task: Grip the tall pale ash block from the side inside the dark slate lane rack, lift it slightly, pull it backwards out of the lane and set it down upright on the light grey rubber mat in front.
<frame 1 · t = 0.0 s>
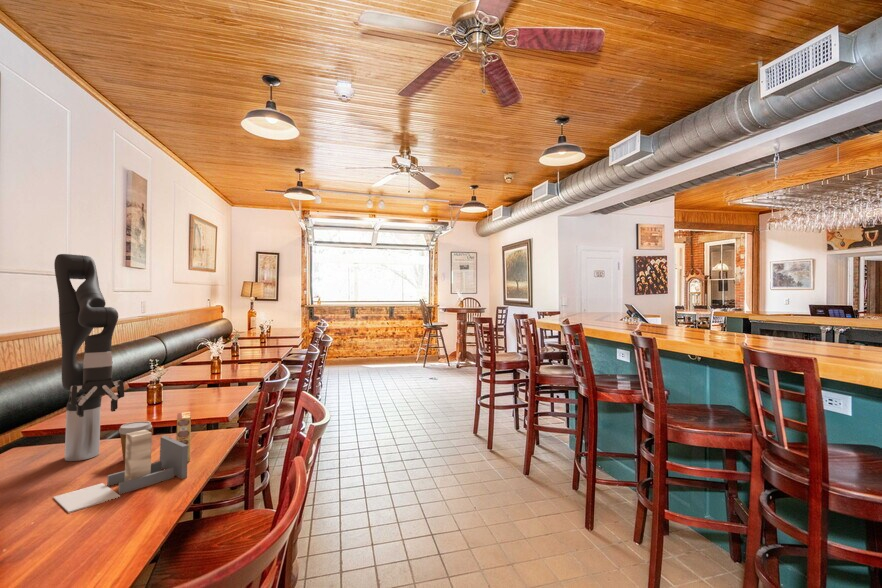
hand: (97, 413, 137), 17 cm above the table, tool pointing down, fingers open, 8 cm apart
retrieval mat: (86, 497, 114), on the table
candy box: (182, 459, 143), on the table
ash block: (137, 482, 124), resting in lane rack
lane rack: (141, 481, 125), on the table
disposable coffee cup: (134, 459, 143), on the table
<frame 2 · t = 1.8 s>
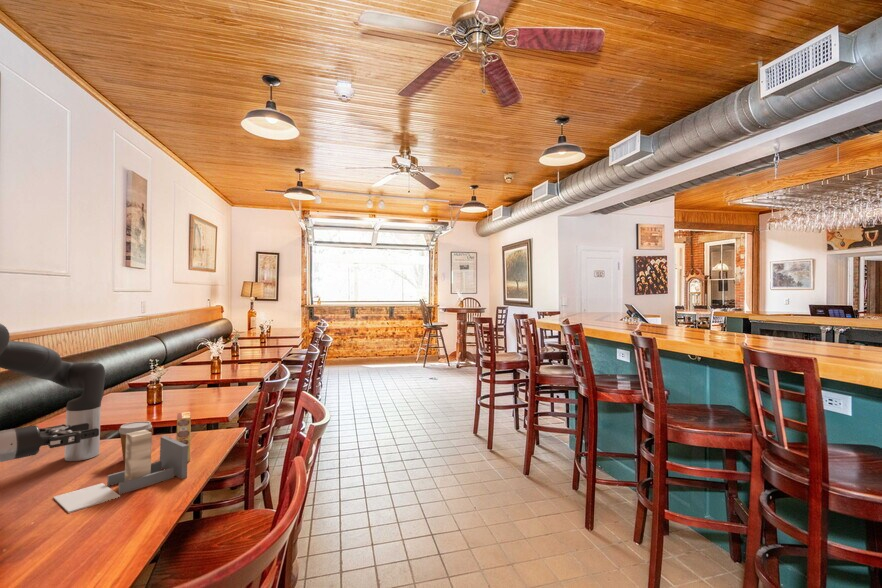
hand: (93, 429, 115), 19 cm above the table, tool horizontal, fingers open, 8 cm apart
nothing on the table moved.
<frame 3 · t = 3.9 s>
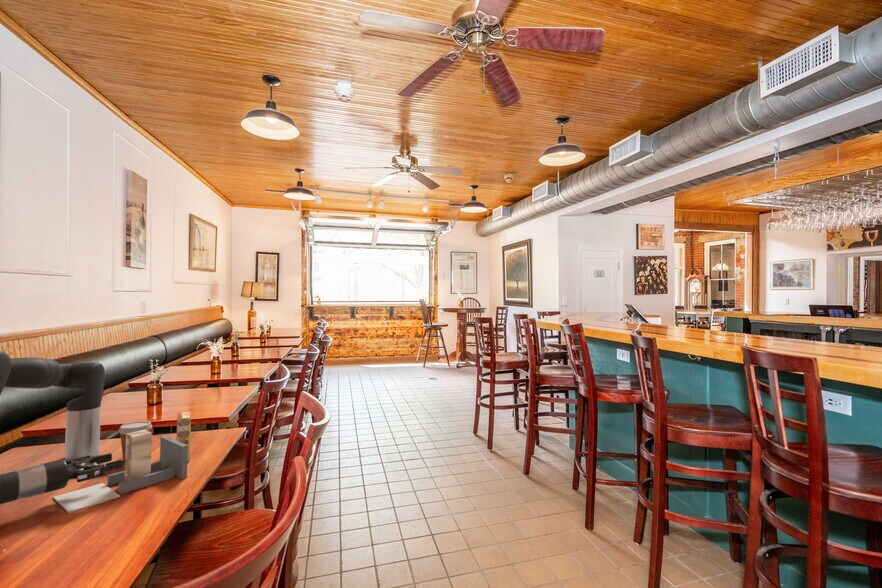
hand: (116, 460, 120), 8 cm above the table, tool horizontal, fingers open, 8 cm apart
nothing on the table moved.
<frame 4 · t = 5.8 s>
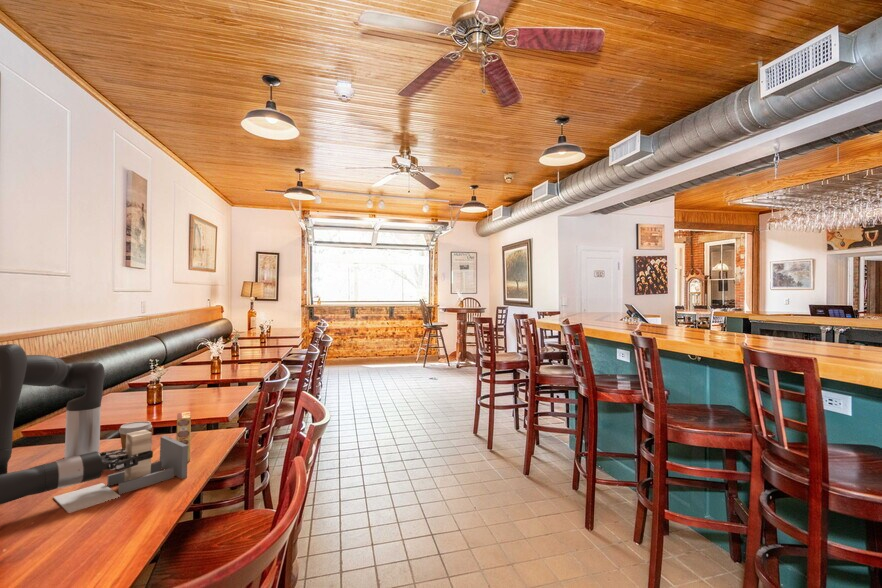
hand: (148, 451, 126), 9 cm above the table, tool horizontal, fingers closed on ash block, 5 cm apart
ash block: (137, 482, 124), resting in lane rack, touching gripper
everything else where it was.
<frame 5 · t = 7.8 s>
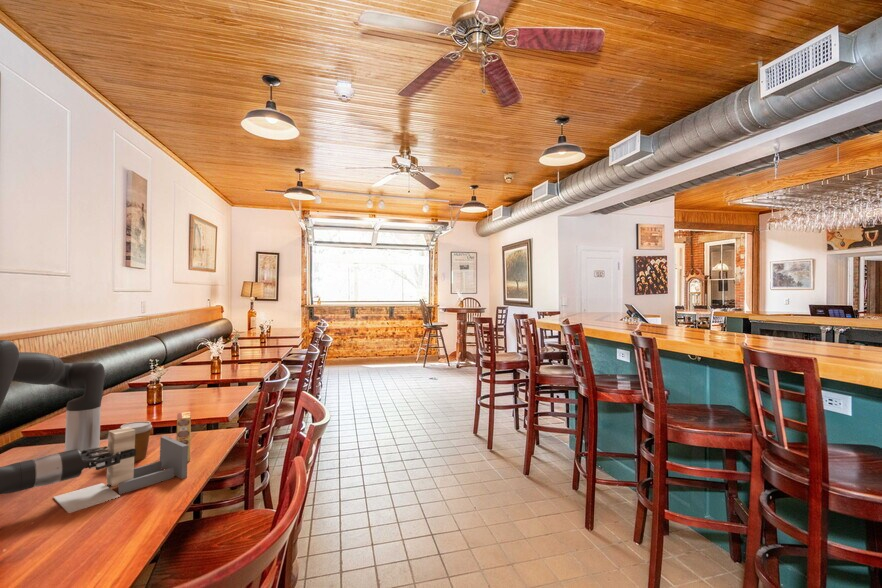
hand: (131, 450, 123), 10 cm above the table, tool horizontal, fingers closed on ash block, 5 cm apart
ash block: (119, 481, 120), point 2 cm above the table, touching gripper
everything else where it was.
when the fingers open (10 cm above the table, at t = 9.9 s): ash block stays where it is, resting on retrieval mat.
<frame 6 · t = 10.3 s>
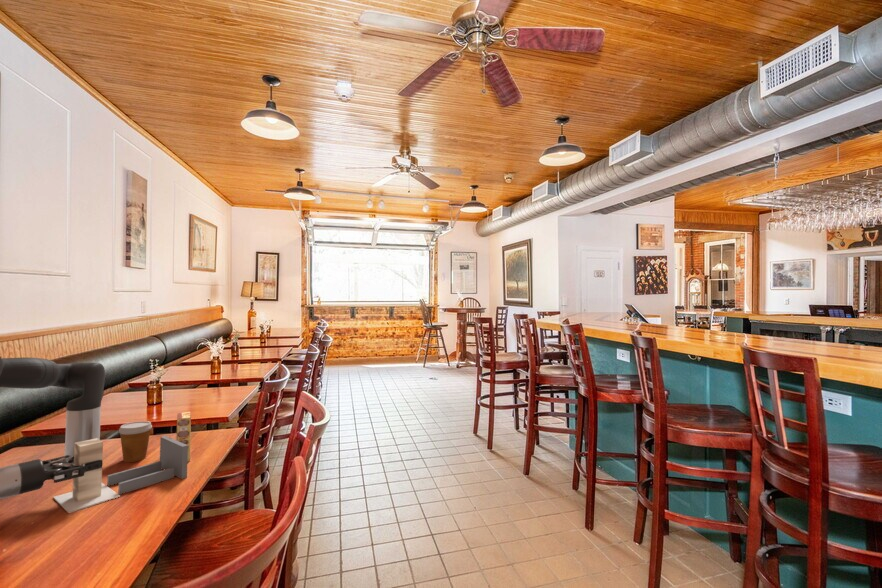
hand: (96, 459, 116), 10 cm above the table, tool horizontal, fingers open, 8 cm apart
ash block: (86, 496, 114), resting on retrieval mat
everything else where it was.
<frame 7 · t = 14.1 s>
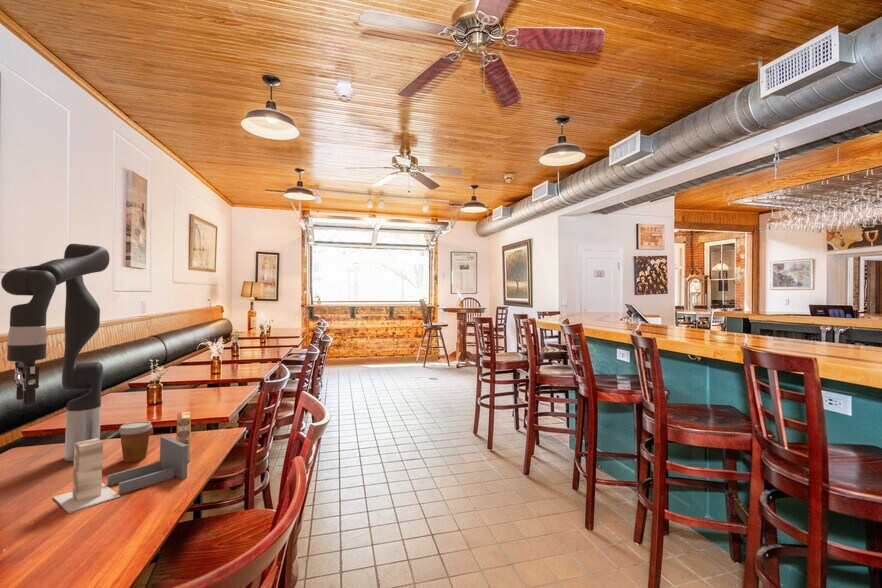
hand: (25, 401, 111), 27 cm above the table, tool pointing down, fingers open, 8 cm apart
nothing on the table moved.
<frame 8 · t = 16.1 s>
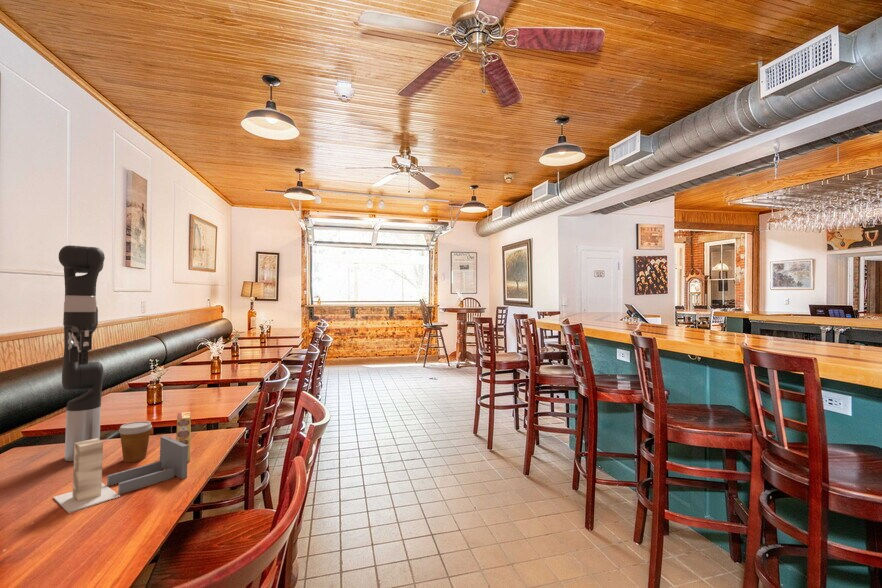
hand: (78, 363, 125), 36 cm above the table, tool pointing down, fingers open, 8 cm apart
nothing on the table moved.
at the end: ash block inside the target area (0.0 cm from its centre), resting on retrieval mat; ash block tilted 0°; the gripper is holding nothing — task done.
